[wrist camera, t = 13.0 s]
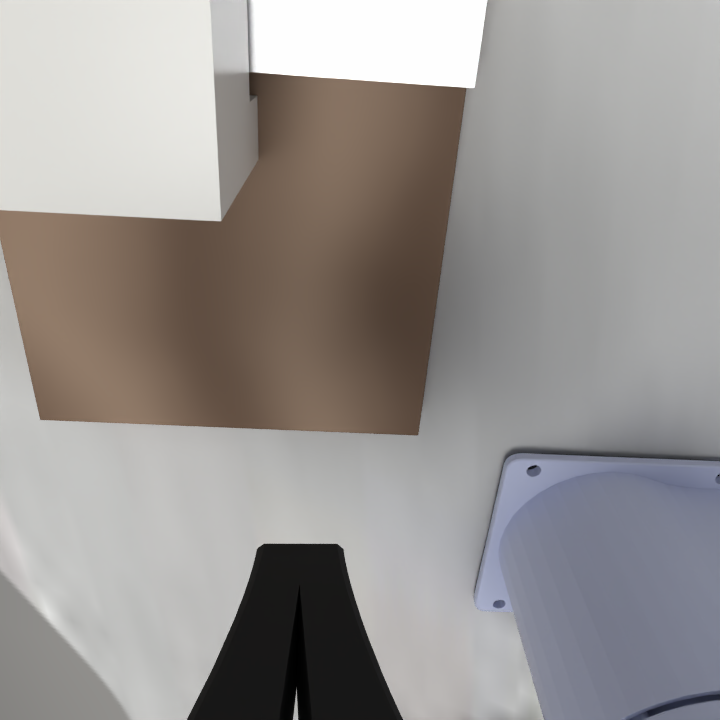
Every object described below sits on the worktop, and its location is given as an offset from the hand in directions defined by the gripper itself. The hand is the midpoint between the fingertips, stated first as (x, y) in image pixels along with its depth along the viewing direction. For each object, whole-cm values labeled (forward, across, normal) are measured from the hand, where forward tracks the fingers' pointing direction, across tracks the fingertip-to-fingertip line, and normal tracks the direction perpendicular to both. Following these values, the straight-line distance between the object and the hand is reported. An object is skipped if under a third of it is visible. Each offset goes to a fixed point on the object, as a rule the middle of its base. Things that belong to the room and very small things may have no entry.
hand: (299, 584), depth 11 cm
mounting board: (+11, +2, -4) cm, 12 cm away
